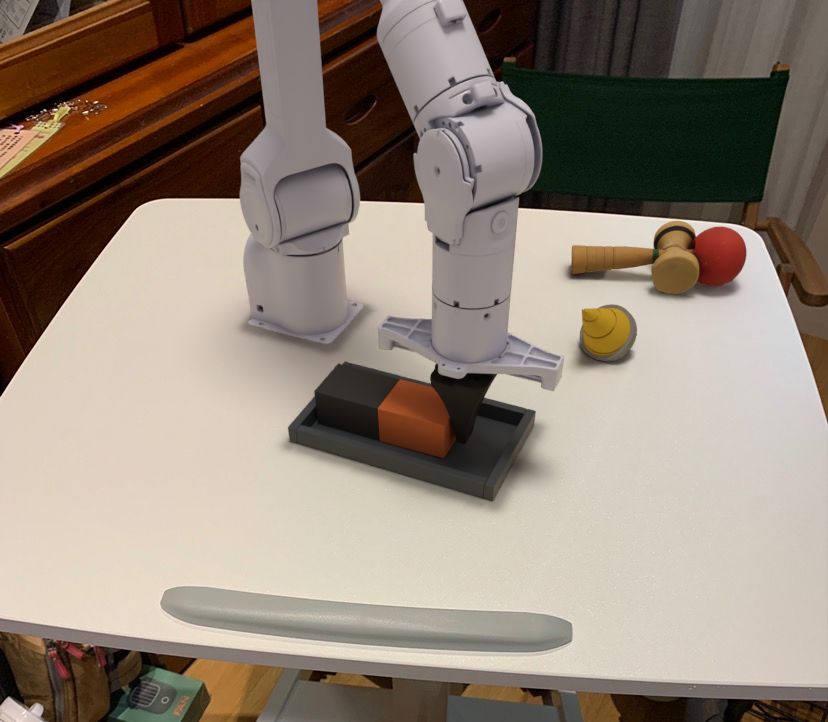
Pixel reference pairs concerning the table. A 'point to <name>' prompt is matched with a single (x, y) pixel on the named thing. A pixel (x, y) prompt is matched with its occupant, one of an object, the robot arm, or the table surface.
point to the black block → (352, 400)
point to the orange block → (416, 419)
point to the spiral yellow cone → (607, 332)
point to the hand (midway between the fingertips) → (464, 436)
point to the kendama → (673, 257)
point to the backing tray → (459, 470)
